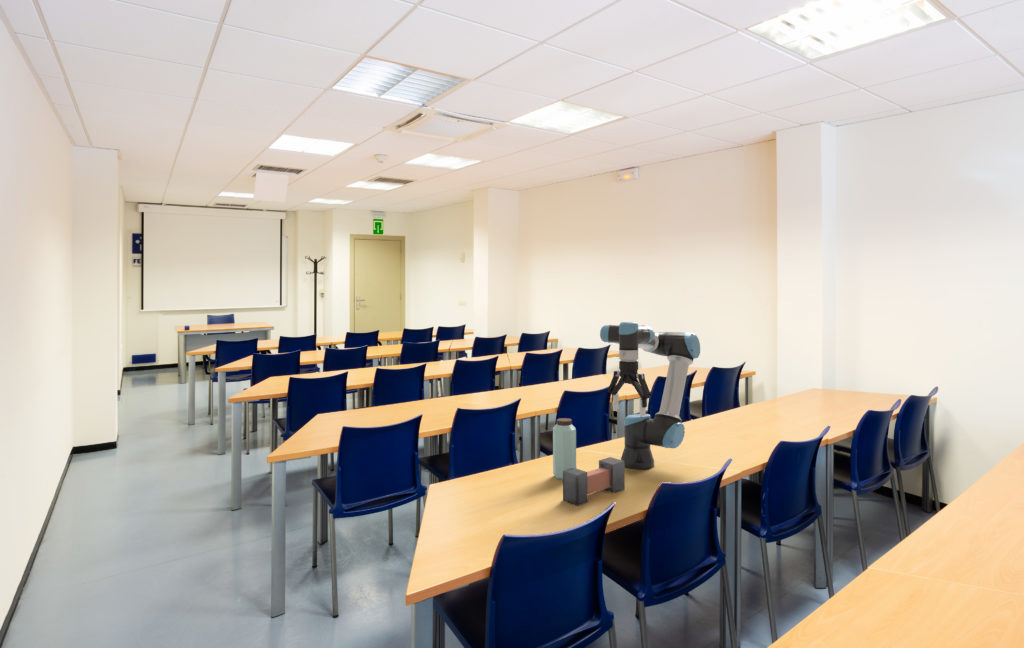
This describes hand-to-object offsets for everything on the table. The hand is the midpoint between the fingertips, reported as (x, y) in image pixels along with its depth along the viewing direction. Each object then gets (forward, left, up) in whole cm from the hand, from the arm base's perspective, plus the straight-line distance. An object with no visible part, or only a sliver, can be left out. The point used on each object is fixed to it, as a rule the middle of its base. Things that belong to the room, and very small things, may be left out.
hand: (628, 412), depth 220 cm
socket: (+27, -4, -31) cm, 41 cm away
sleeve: (+6, -4, -31) cm, 32 cm away
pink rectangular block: (+19, -4, -29) cm, 34 cm away
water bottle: (+10, -27, -31) cm, 42 cm away
